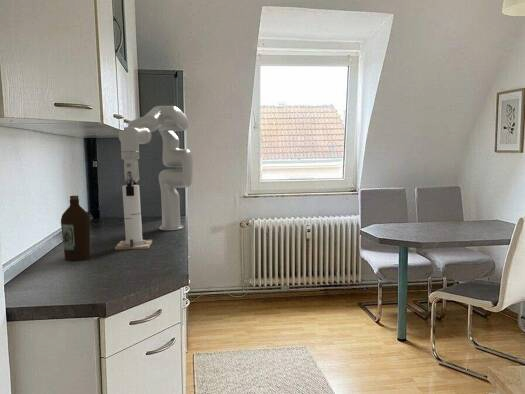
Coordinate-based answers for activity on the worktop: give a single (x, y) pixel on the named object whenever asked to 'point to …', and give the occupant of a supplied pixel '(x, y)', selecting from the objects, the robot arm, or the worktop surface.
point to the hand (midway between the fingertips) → (132, 194)
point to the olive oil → (76, 231)
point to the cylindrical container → (132, 215)
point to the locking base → (133, 245)
